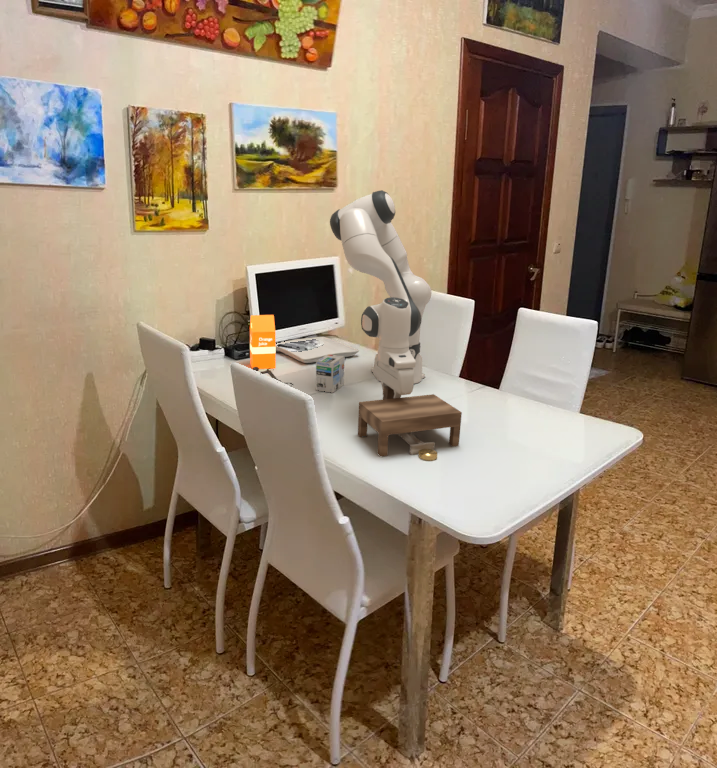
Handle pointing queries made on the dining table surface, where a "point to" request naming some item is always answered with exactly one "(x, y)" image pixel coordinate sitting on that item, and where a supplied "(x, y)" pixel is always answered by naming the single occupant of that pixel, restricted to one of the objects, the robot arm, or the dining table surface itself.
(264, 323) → the orange juice
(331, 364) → the light bulb box
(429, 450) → the token
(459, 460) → the dining table surface
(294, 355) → the square plate
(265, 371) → the hacksaw
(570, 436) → the dining table surface
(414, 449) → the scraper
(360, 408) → the wooden footstool
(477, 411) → the dining table surface
